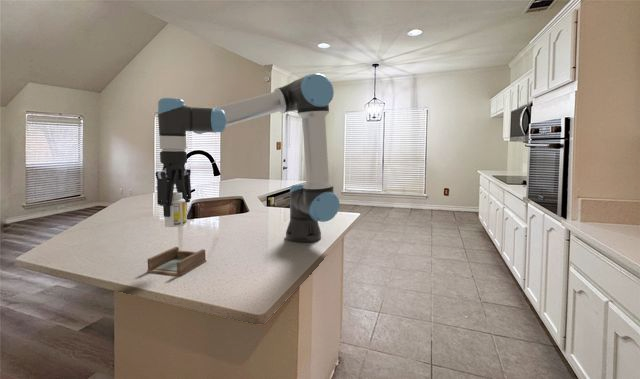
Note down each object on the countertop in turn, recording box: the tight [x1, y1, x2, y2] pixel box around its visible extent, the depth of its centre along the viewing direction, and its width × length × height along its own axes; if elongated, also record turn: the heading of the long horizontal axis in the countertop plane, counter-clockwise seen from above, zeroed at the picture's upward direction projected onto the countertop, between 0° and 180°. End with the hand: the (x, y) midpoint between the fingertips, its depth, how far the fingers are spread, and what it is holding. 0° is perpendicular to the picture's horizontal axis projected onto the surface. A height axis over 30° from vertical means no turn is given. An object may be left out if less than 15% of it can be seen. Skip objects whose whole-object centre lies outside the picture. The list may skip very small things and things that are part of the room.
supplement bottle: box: [167, 191, 187, 228], centre depth 103 cm, size 6×6×10 cm
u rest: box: [146, 246, 207, 277], centre depth 105 cm, size 12×13×4 cm
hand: (176, 224), depth 104 cm, fingers closed on supplement bottle, 6 cm apart
